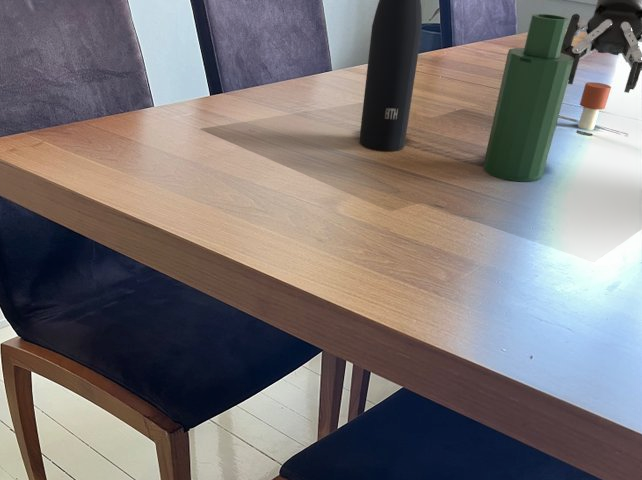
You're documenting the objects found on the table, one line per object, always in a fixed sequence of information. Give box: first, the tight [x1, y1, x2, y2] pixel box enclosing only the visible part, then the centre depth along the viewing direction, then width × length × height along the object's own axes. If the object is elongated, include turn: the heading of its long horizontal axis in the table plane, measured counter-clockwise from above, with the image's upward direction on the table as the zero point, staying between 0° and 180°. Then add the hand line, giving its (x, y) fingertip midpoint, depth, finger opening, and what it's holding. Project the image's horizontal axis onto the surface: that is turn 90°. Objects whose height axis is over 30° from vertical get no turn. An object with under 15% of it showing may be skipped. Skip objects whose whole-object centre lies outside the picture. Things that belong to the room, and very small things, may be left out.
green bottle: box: [482, 13, 574, 183], centre depth 92 cm, size 8×8×18 cm
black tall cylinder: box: [358, 0, 423, 152], centre depth 93 cm, size 6×6×30 cm
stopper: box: [576, 81, 612, 136], centre depth 114 cm, size 4×4×7 cm
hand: (598, 85), depth 113 cm, fingers open, 8 cm apart
